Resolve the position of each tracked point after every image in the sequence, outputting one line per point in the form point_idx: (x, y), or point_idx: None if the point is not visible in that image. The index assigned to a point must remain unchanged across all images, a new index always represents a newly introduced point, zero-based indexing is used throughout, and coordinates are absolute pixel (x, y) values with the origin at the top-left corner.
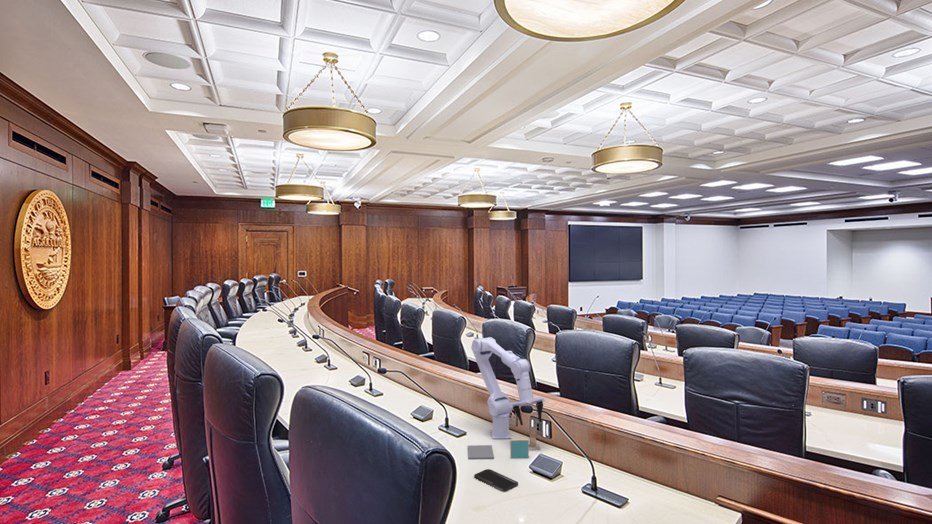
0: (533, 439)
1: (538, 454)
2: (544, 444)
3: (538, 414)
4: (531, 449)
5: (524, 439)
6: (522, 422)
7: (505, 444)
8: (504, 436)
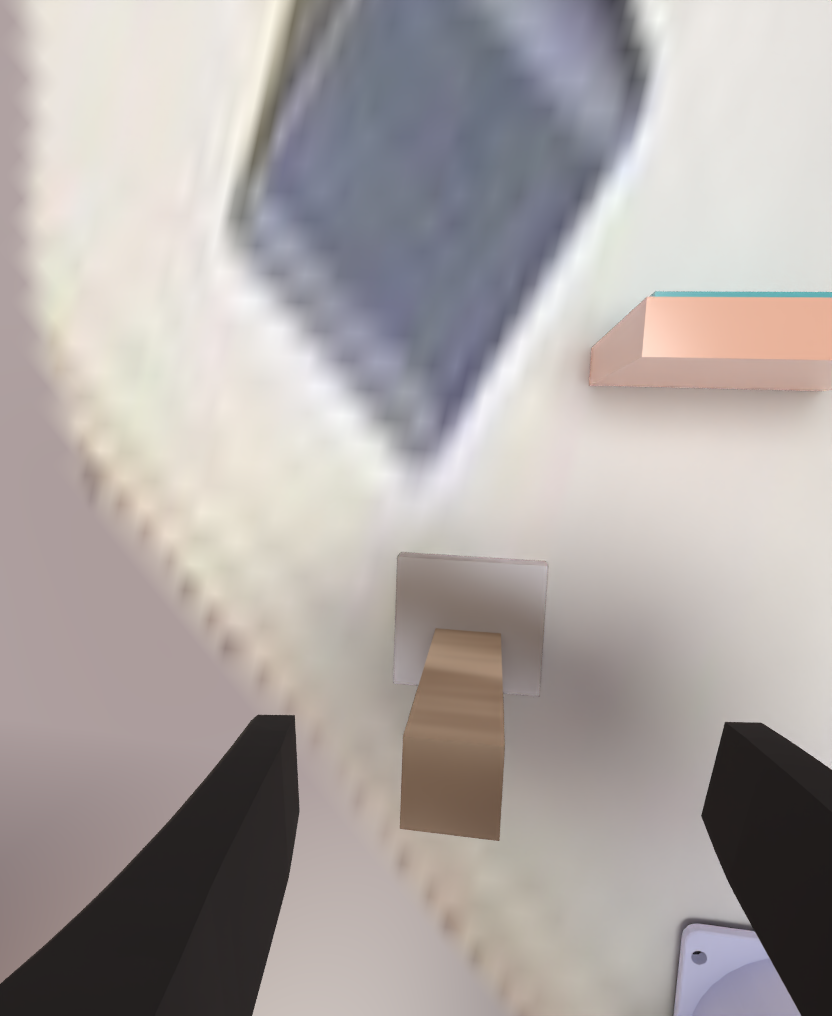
0: (460, 661)
1: (449, 441)
2: (321, 705)
3: (238, 935)
4: (507, 560)
5: (719, 330)
6: (766, 756)
7: None
8: (772, 965)
